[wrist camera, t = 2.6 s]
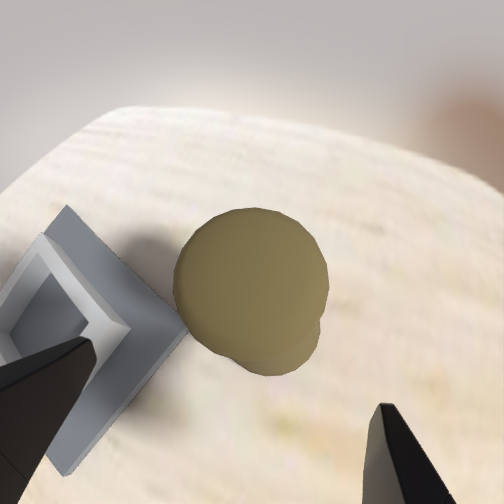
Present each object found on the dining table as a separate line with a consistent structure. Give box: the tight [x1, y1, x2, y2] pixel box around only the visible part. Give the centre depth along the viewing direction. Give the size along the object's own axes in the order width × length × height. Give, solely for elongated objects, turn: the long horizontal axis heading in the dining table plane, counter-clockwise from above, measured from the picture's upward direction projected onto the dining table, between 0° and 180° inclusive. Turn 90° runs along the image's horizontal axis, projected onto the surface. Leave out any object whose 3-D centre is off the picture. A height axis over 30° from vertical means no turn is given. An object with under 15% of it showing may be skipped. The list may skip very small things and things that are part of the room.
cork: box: [173, 208, 329, 376], centre depth 14 cm, size 6×6×11 cm
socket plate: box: [0, 205, 189, 477], centre depth 19 cm, size 16×16×4 cm
